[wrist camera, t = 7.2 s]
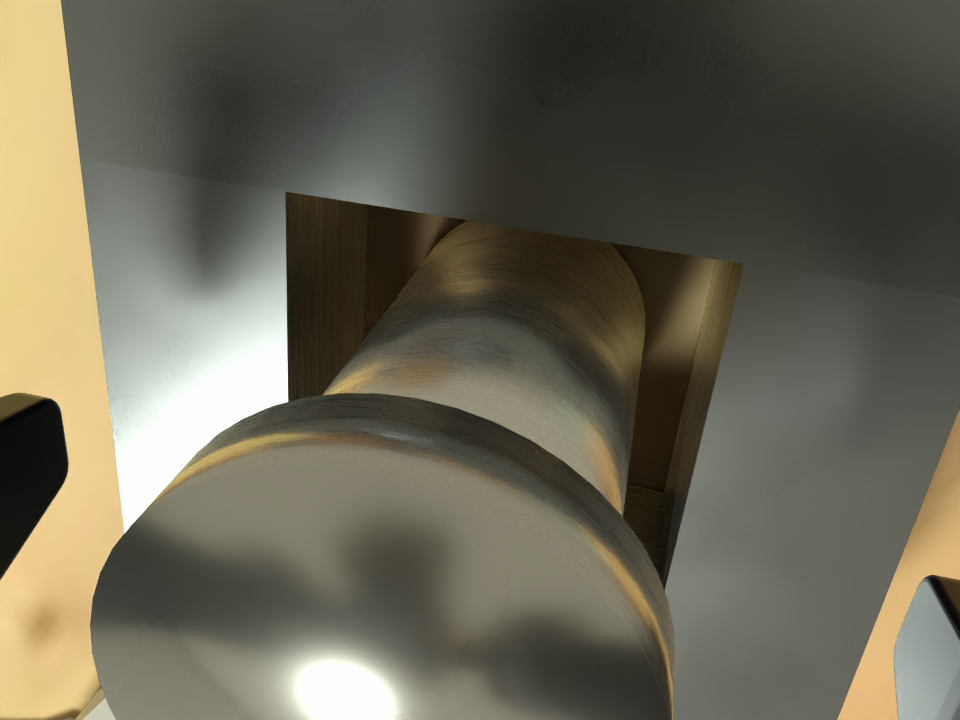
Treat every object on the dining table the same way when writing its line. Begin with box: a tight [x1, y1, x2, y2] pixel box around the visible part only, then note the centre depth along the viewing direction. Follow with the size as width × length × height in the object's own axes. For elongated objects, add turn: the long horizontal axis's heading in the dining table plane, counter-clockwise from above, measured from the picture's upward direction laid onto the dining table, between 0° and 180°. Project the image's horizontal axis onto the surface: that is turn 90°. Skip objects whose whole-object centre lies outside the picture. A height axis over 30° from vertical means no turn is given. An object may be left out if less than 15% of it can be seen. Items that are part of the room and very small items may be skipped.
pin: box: [90, 220, 675, 720], centre depth 10 cm, size 5×5×8 cm
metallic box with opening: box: [61, 0, 960, 720], centre depth 10 cm, size 10×18×4 cm, turn 175°
